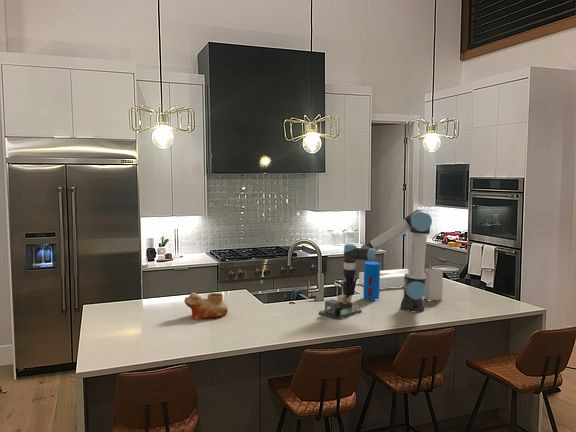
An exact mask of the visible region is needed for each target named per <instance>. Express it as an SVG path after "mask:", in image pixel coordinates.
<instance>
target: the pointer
mask: <svg viewBox="0 0 576 432" xmlns="http://www.w3.org/2000/svg"><path fill="white" fill-rule="evenodd" d="M346 307H347V308H351V311H352V303H350V302H346Z"/></svg>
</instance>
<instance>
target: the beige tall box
mask: <svg viewBox="0 0 576 432" xmlns="http://www.w3.org/2000/svg"><path fill="white" fill-rule="evenodd" d="M424 274H425V277H426V284H425V287H426V293H425V295H424V296H423V300H424V299H427V300H435V299H442V300H443V287H444V286H443V276H444V269H442V268H439V267H436V269H432V264H429V268H425V267H424Z"/></svg>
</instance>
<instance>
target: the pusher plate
mask: <svg viewBox="0 0 576 432" xmlns="http://www.w3.org/2000/svg"><path fill="white" fill-rule="evenodd" d="M337 301H341V302H342V310H343V309H346V308H347V307H346V302H350V297H347V296H346V295H344V294H343V295H342V294H339V295H337ZM350 303H352V307H354V306H356V302H354V301H351V302H350ZM331 307H332V306H328V307H326V309H327V310H331Z"/></svg>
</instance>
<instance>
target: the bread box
mask: <svg viewBox="0 0 576 432" xmlns="http://www.w3.org/2000/svg"><path fill="white" fill-rule="evenodd" d="M406 273H409V268H402V269H399V268H398V269H388V270H387V269H386V270H385V269H384V270H380V287H379V289H380V288H389V287H400V286H404V276H405V274H406ZM424 276H425V273H424ZM359 283H361V284H363V285H364V271H362V272H358V284H359ZM363 285H362V286H363Z"/></svg>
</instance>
